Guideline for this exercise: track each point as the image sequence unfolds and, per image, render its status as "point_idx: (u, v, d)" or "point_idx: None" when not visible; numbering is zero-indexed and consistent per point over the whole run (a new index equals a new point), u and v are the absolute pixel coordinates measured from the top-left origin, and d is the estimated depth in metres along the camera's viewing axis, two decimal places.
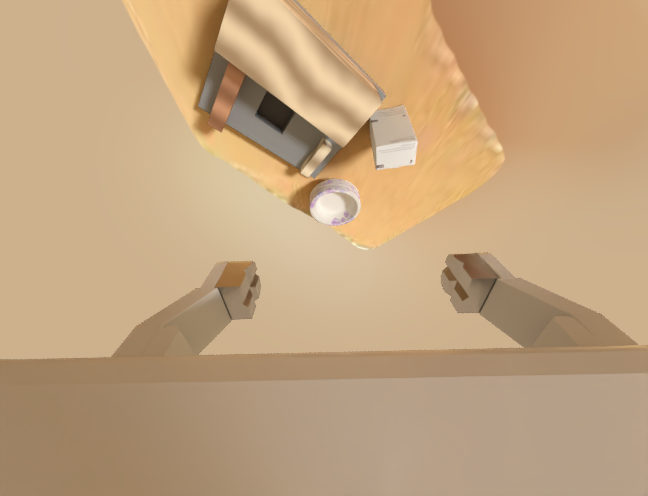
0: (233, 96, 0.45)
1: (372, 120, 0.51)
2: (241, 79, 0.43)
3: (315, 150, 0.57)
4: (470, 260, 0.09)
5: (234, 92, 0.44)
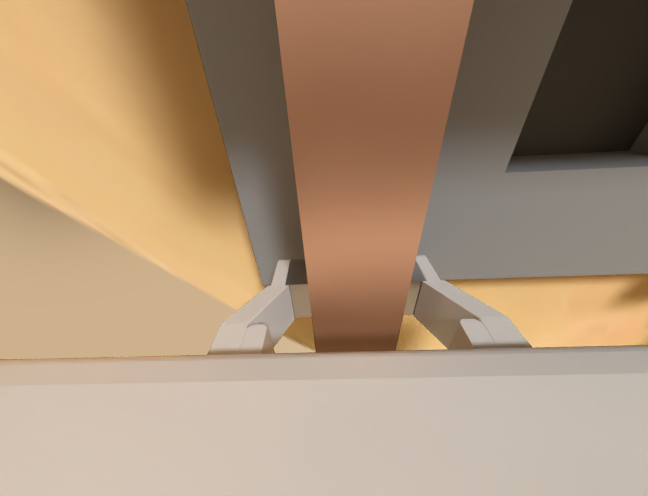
0: (432, 80, 0.04)
1: None
2: None
3: None
4: None
5: (438, 19, 0.04)
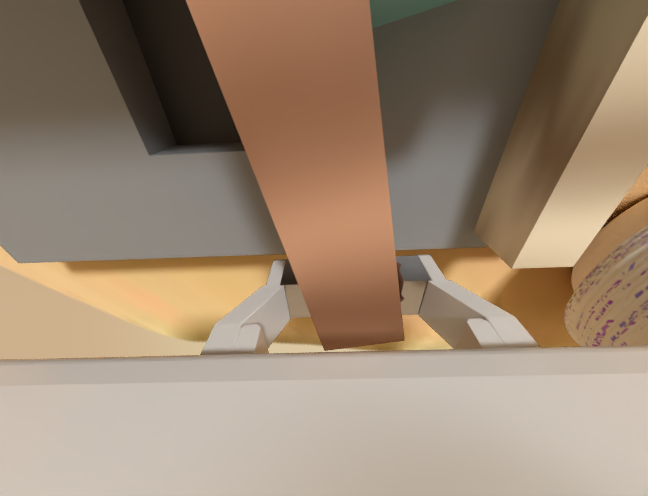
0: (350, 49, 0.04)
1: None
2: None
3: (564, 70, 0.07)
4: (408, 262, 0.09)
5: None
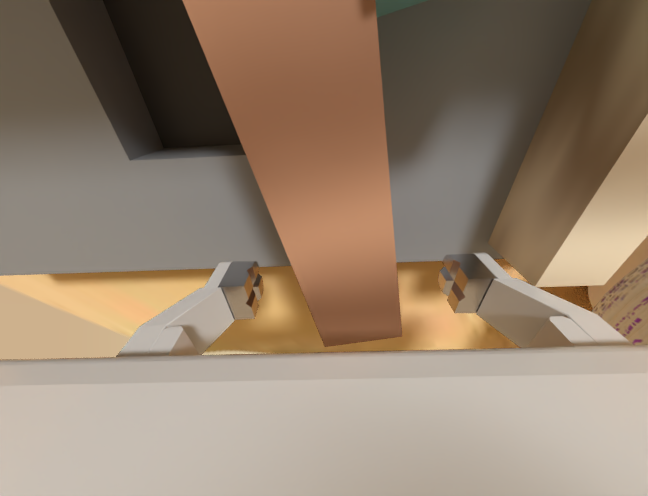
0: (355, 56, 0.04)
1: None
2: None
3: (605, 63, 0.06)
4: (467, 260, 0.09)
5: None
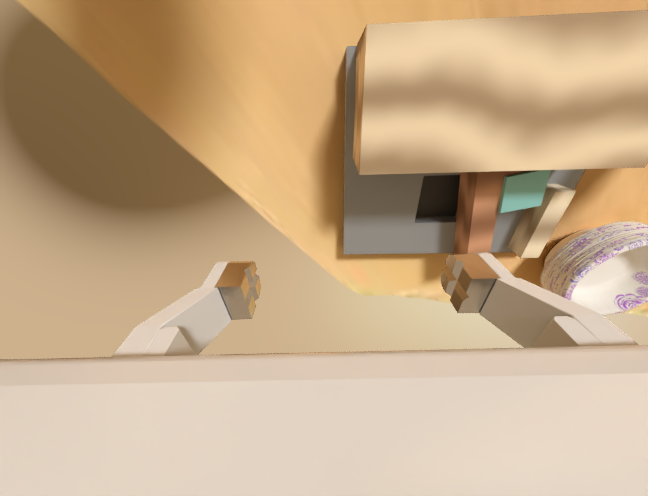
0: (492, 219, 0.29)
1: None
2: (499, 191, 0.28)
3: (533, 211, 0.32)
4: (470, 260, 0.09)
5: (493, 213, 0.29)
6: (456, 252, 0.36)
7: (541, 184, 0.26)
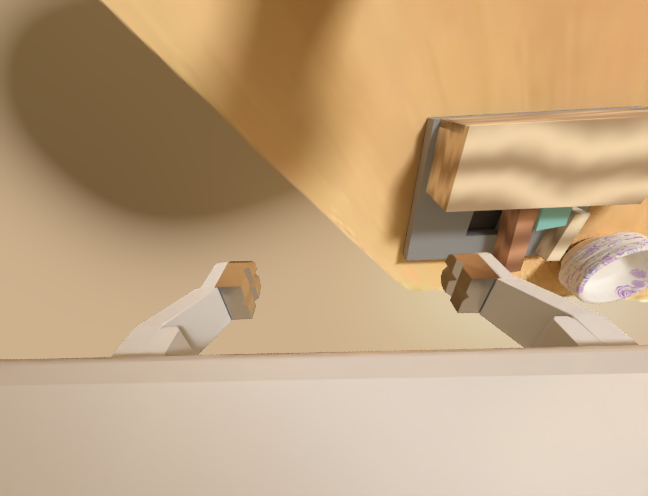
0: (529, 234, 0.40)
1: None
2: (536, 216, 0.38)
3: None
4: (470, 260, 0.09)
5: (529, 231, 0.40)
6: (495, 257, 0.47)
7: (567, 211, 0.37)
